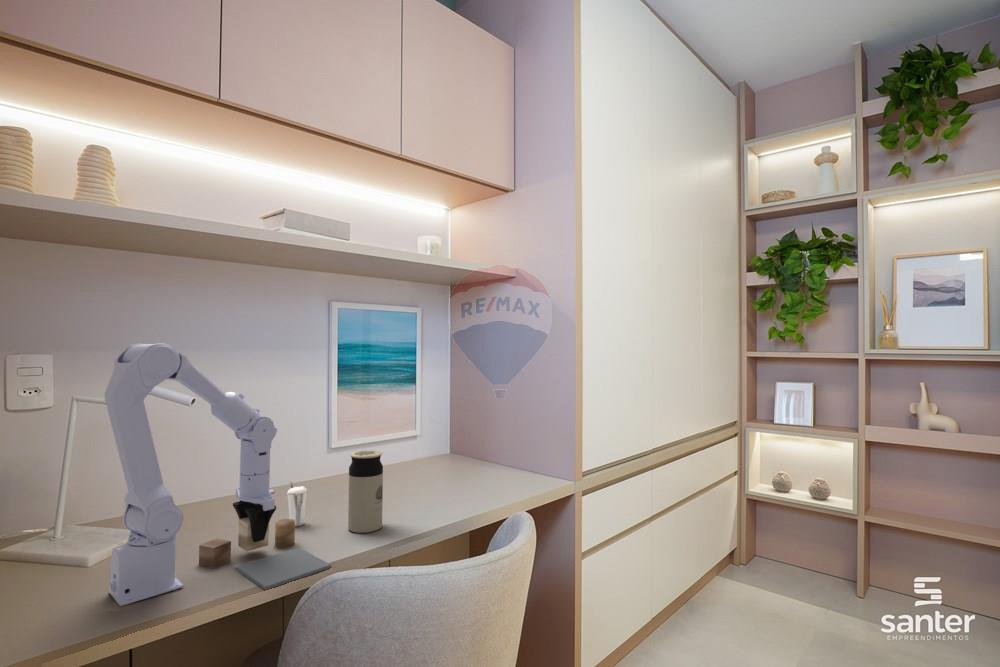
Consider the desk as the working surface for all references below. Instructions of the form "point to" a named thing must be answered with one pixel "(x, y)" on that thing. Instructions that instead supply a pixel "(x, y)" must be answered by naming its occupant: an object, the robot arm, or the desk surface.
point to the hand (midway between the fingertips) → (253, 537)
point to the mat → (282, 568)
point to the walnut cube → (214, 553)
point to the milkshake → (297, 504)
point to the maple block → (249, 536)
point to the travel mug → (365, 491)
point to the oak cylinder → (284, 533)
